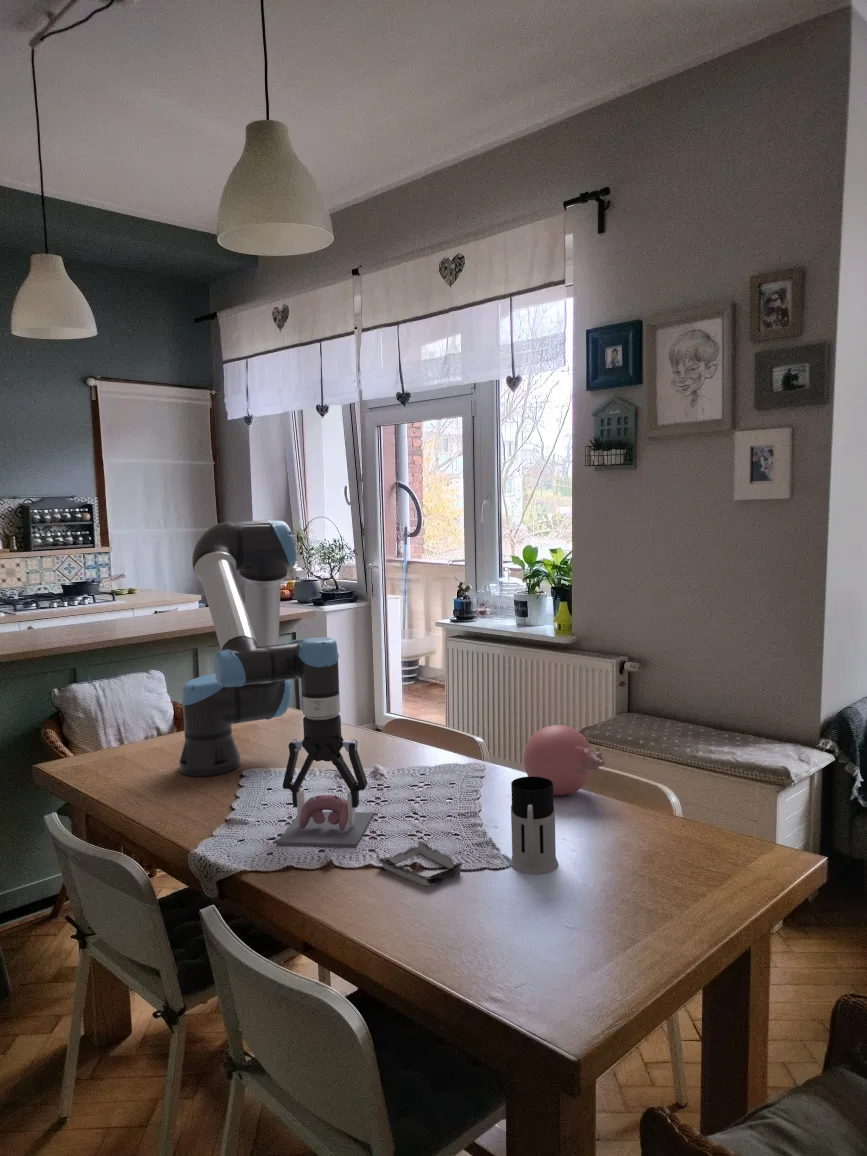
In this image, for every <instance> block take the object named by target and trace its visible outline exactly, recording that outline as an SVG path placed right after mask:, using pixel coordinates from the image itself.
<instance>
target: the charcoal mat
mask: <svg viewBox="0 0 867 1156" xmlns="http://www.w3.org/2000/svg"><path fill="white" fill-rule="evenodd" d="M331 812H332V811H323V813H324V815H325V821H324V822H323V823H321V824H318V823H315V822H314V820H313V817H311V818H310V820H309V822H308V824H307V826H306V827H305V828H304V829H301V828H300V824H298V814H297V815H296V816H295V818H294V819H293V820H292V822H291V823H290V824H289V826H288V827H287V828H286V829H285V831H284V832H282V833H283V834H281V835H280V837H279V839H278V840H277V841H276V846H300V847H301V846H304V847H305V846H306V847H308V846H309V847H310V846H311V847H339V848H340V847H342V848H343V847H344V848H345V847H347V848H349V847H350V848H357V847H358V845H359V844H360V842H361V840H362V838H363V836H364V834H365V832H366V830H367V829H368V827H369V825H370V823H371V821H372V819H373V817H375V816H374V815H375V813H374V812H369V811H368V812H367V811H363V812H357V811H355V821H354V823H353V825H349V823H348V821H347V825H346V827H345V829H344V830H343V831H341V830H340V828H339V823H338V824H335V825H333V824H331V823H329V821H328V816H329V814H330V813H331Z"/></svg>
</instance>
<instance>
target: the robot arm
mask: <svg viewBox="0 0 867 1156" xmlns="http://www.w3.org/2000/svg"><path fill="white" fill-rule="evenodd" d="M295 543H296V542H295V540H294V535H293V532H292V529H291V528H290V526H289V525H288V523H286V522H285V521H284V520H276V519H275V520H273V519H272V520H271V519H264V520H263V519H262V520H249V521H248V520H243V521H225V522H220V523H217V524H215V525H213V526H211V527H210V528H208V529H207V530H205V532H204V533H203V534H202V535H201V536H200V537H199V538H198V540H197V542H196V544H195V546H194V549H193V552H192V558H191V559H192V561H191V562H192V563H191V564H192V569H193V572H194V576H195V578H196V579H197V580H198V581H199V582H201V585H202V588H203V591H204V595H205V598H206V602H207V605H208V609H209V613H210V615H211V618H212V619H211V620H212V624H213V627H214V631H215V634H216V637H217V640H218V645H219V647H220V650H219V651H217V652H216V653H215V654H214V659H213V662H214V664H213V665H214V672H215V673H211V674H205V675H202V676H201V675H200V676H198V677H195V678H193V679H190V680H189V681H187V682H186V683H185V684H184V685H183V686H182V691H181V692H182V694H181V695H182V697H181V699H182V700H181V705H182V711H183V712H182V713H183V725H184V726H183V728H184V730H183V731H184V732H183V733H184V742H183V746H182V750H181V754H180V758H179V760H178V761H179V763H178V764H179V772H180V773H181V774H182V775H185V776H189V777H210V776H218V775H223V774H226V773H229V772H232V771H234V770H236V769H238V768H239V767H240V766H241V764H242V763H241V753H240V752H239V749H238V746H237V744H236V741H235V739H234V737H233V732H232V730H233V728H232V725H235V724H241V723H242V724H243V723H248V722H255V721H262V720H266V721H267V720H268V721H269V720H271V719H273V718H278V717H279V718H280V717H282V716H283V715H285V714H286V712H287V711H288V710H289V709H288V708H289V706H290V704H291V703H290V702H291V695H292V694H291V692H292V691H291V682H290V681H291V680H297V679H300V682H301V685H300V686H301V703H302V705H301V706H302V714H303V715H304V717H303V719H302V722H303V723H302V725H303V739H302V740H298V739H296V738H295V739H292V741H290V743H289V744H288V750H289V756H288V760H287V765H286V770H285V773H284V778H283V782H282V789H284V790H289V791H291V794H292V797H291V798H292V805H293V807H294V808H295V807H296V808H297V815H298V824H300V817H301V814H302V811H303V808H304V805H305V803H306V800H305V788H301V786H302V784H303V782H304V780H305V778H306V776H307V775H308V772H309V770H310V768H311V766H312V764H313V763H314V761H315V762H321V761H324V762H331V763H332V764H333V765H334V767H335V768H336V769H337V771H338V773H339V774H340V776H341V777H342V780H343V781H344V783H345V784H346V786H347V788H348V789H349V790H348V792H347V793H346V795H347V796H346V797H347V798H346V799H347V800H346V801H348V823H349V825H353V823H354V821H355V812H356V810H355V809H357V808H358V807H359V805H360V791H364V790H365V789H366V788H367V786H368V781H367V780H368V779H367V777H366V774H365V771H364V768H363V765H362V761H361V758H360V755H359V753H358V741H357V739H352V740H344V737H343V735H342V718H341V715H340V714H339V713H340V712H341V697H340V676H339V674H340V673H339V657H340V656H339V652H338V645H337V644H338V642H337V641H336V640H335V639H334V638H332V637H326V636H324V637H323V636H321V637H319V636H318V637H317V636H316V637H309V638H305V639H293V640H291V641H290V642H288V643H282V644H281V643H280V642H279V641H280V614H281V587H282V585H281V583H282V581H283V580H284V579H286V578H287V576H288V568H292V567H294V566H295V565H296V563H297V552H296V551H297V550H296V545H295ZM236 571H239V573H238V574H239V576H240V577H241V578H242V579H243V580H244V581H245V587H244V589H245V594H244V597H245V598H243V595H242V592H241V588H240V586H239V581H238V579H237V576H236ZM279 643H280V644H279ZM302 748H303V749H304V750H305V752H306V753H307V756H306V759H305V760H304V763H303V765H302V767H301V769H300V770H299V773H298V774H297V776H296V778H295V780H294V781H293V779H294V774H295V770H296V766H297V761H298V757H299V753H300V751H301V750H302ZM342 748H344V749H345V751H346V752H347V753H348V757H349V761H350V763H351V766H352V770H353V773H354V775H353V774H352V772H351V769H350V768H349V767H348V765H347V763H346V761H345V760H344V757H343V755H342V753H341V752H340V751H341V750H342Z"/></svg>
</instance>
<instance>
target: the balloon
mask: <svg viewBox="0 0 867 1156" xmlns="http://www.w3.org/2000/svg"><path fill="white" fill-rule="evenodd" d="M525 745H526V746H525V748H524V751H523V752H524V753H523V766H524V770H525V772H526V775H527V777H529V776H534V777H543V778H547V779H549V780H551V781H552V782H553V796H567V795H570V794H573V793H576V792H578V791H579V790H581V789H582V788H583V787H584V786H585V785H586V784H587V783H588V781H589V779H590V777H591V775H592V772H593V771H597V770H598V769H599V767H604V766H605V759H604V757H602V756H603V754H602V752H600V751H595V752H594V750H593V749H592V747H591V745H590V743H589V741H588V740H587V738H586V737H585V736H584V735H583V734H582V733H581V732H580V731H578V730H576V729H575V728H573V727H571V726H568V725H564V724H552V725H547V726H544V727H542V728H540V729H539V730H537V731H536V732H535V733H533V735H531V737H530V738H529V740H528V742H527V743H526V744H525Z"/></svg>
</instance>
